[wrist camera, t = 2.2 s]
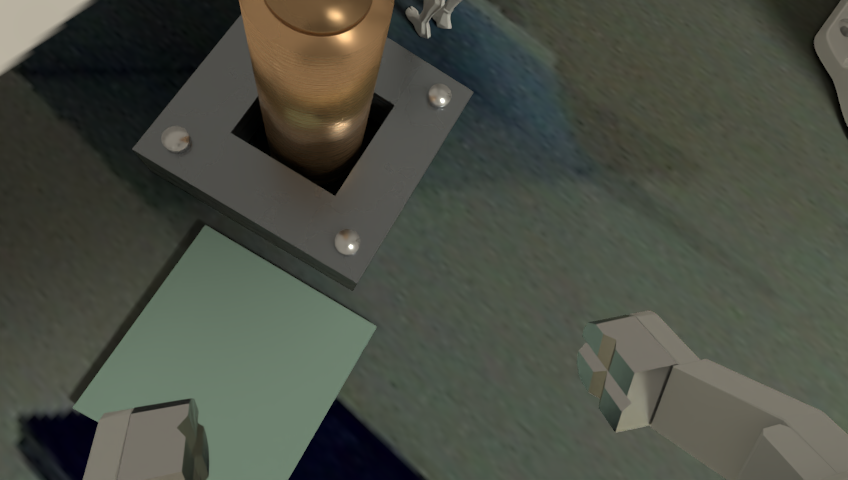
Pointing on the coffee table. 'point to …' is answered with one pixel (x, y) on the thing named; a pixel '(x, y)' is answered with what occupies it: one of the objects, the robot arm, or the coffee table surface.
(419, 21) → the human figurine
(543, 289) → the coffee table surface
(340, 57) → the copper plug
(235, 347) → the mat
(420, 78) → the housing
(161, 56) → the coffee table surface
